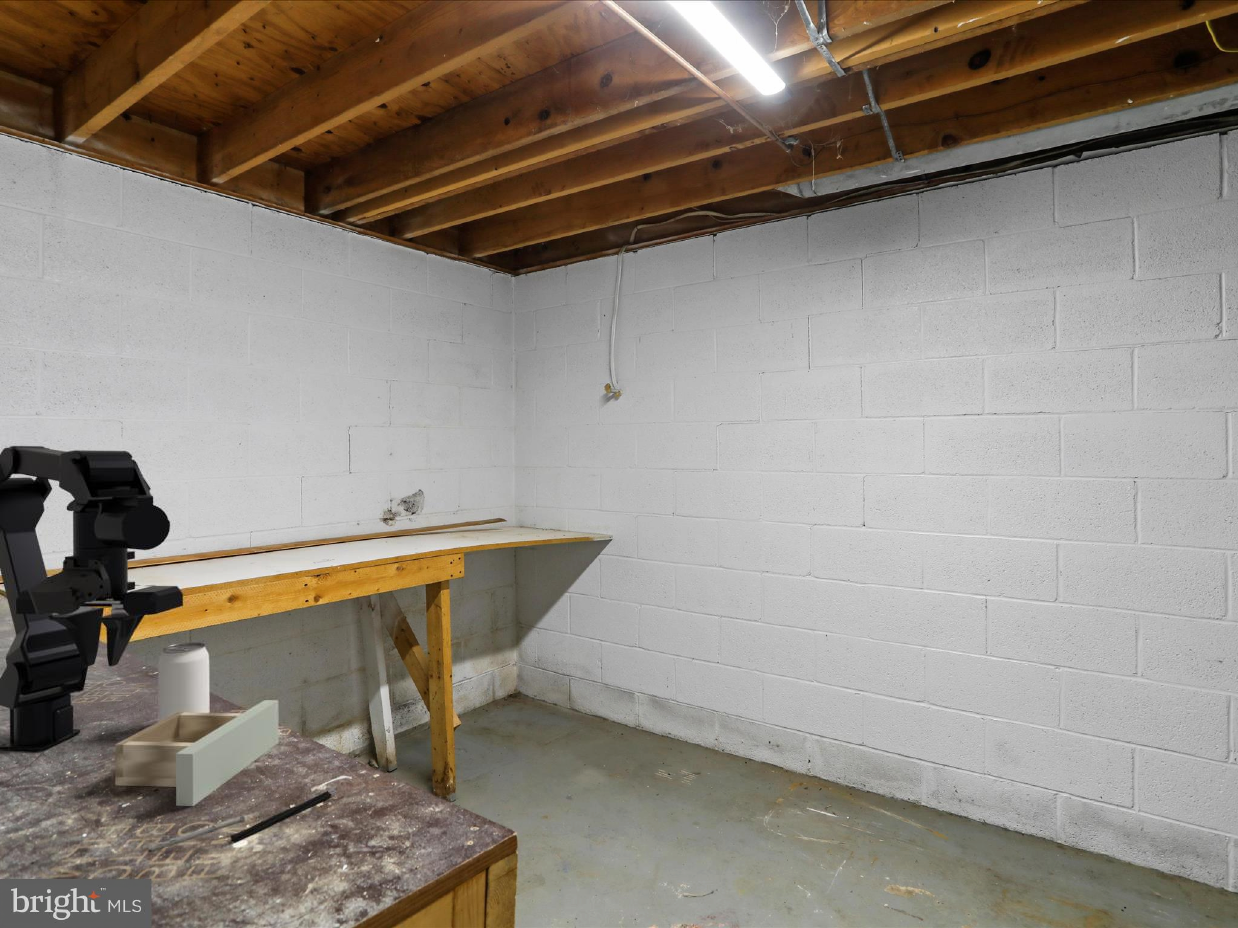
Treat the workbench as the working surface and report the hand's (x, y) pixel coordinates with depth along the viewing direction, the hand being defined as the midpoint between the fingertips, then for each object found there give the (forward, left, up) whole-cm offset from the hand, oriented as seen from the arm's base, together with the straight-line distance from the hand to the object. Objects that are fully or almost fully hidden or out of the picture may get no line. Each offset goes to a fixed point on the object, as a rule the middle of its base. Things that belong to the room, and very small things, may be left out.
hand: (101, 665), depth 91 cm
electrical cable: (+31, -12, -14) cm, 36 cm away
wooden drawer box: (+12, 0, -13) cm, 18 cm away
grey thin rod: (+24, -16, -14) cm, 32 cm away
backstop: (+18, -1, -13) cm, 22 cm away
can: (+2, +13, -13) cm, 19 cm away
